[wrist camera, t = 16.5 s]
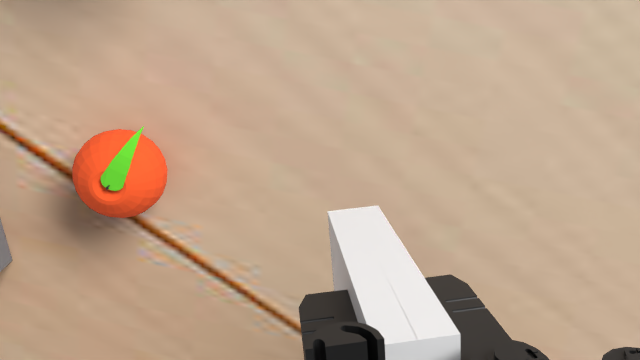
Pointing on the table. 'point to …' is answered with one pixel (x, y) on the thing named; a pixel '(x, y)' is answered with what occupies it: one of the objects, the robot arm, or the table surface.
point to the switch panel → (4, 250)
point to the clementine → (119, 173)
